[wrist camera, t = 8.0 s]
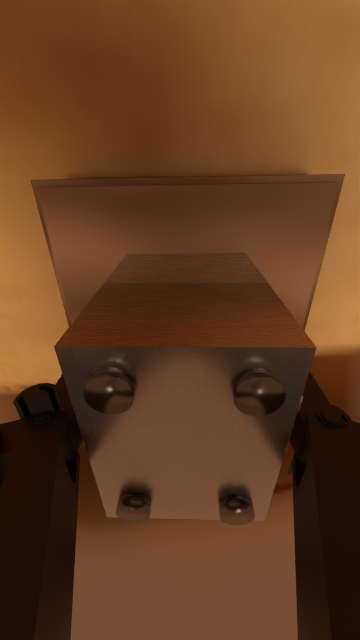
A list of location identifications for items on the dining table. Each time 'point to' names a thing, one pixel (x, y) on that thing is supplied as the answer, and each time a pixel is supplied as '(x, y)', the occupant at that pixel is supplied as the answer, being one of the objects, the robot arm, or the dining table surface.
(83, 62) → the dining table surface
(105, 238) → the stand
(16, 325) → the dining table surface
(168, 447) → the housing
